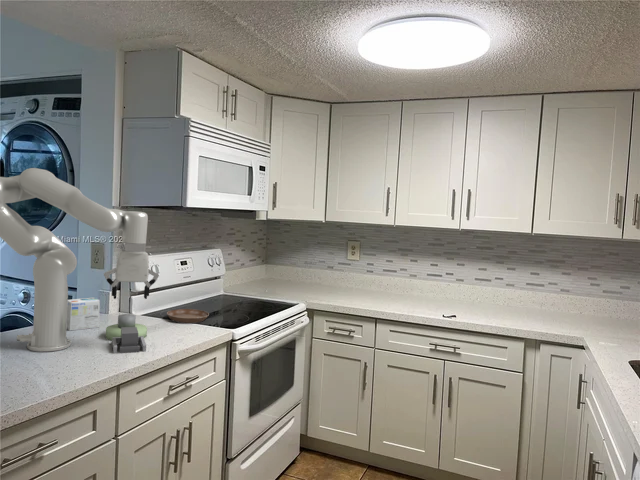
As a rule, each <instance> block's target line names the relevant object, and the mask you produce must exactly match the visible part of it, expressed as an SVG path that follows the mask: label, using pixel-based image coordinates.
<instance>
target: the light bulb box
mask: <svg viewBox="0 0 640 480" xmlns="http://www.w3.org/2000/svg"><path fill="white" fill-rule="evenodd" d="M100 300H101V299H98V298H96V297H88V298H87V297H85V298H73V299H71V298H70V299H68V306H67V331H70V332H71V330H72V331H79V330H87V329H95V328H99V327H100V306H101V305H100V304H101V301H100Z"/></svg>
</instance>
